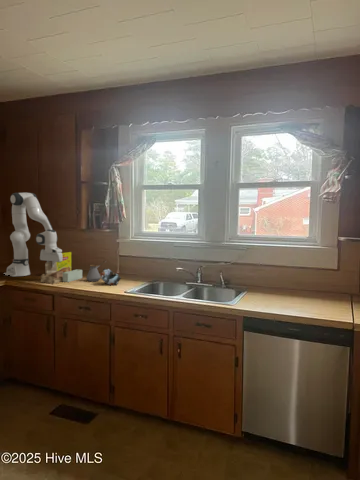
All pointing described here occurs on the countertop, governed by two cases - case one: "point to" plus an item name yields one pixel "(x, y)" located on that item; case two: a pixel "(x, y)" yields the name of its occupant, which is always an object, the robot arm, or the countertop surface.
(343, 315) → the countertop surface
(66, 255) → the food package
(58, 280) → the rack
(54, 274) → the offcut top
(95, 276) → the coffee pot
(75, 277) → the slot stand
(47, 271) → the birch sheet
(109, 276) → the blue-grey irregular lump
